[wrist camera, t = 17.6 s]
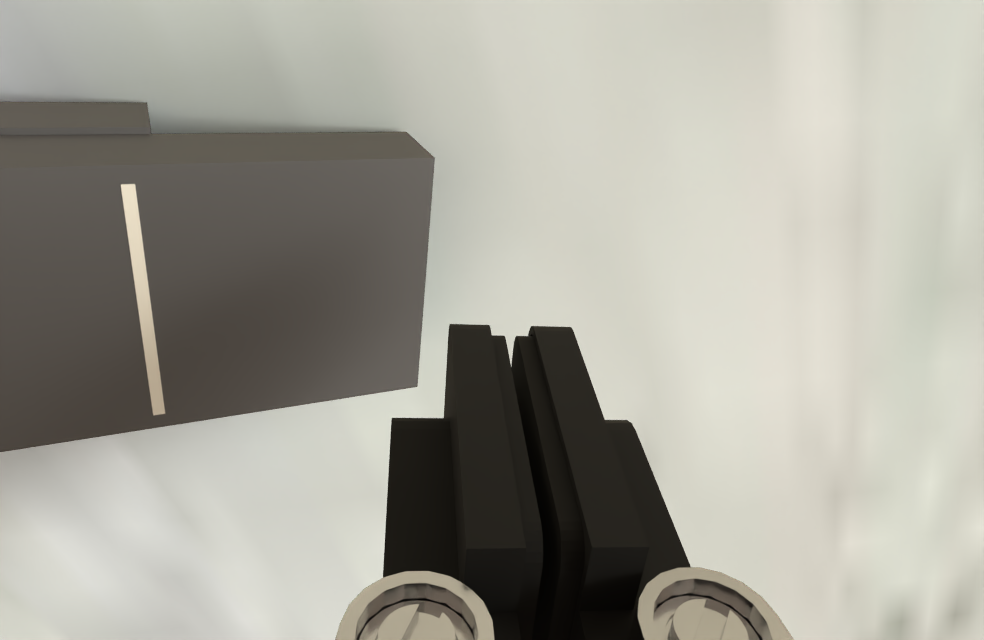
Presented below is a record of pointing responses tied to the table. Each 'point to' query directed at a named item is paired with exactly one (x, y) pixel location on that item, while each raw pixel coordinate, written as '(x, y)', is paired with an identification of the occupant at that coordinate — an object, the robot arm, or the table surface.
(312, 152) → the domino
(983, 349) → the table surface
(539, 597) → the robot arm
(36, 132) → the domino
